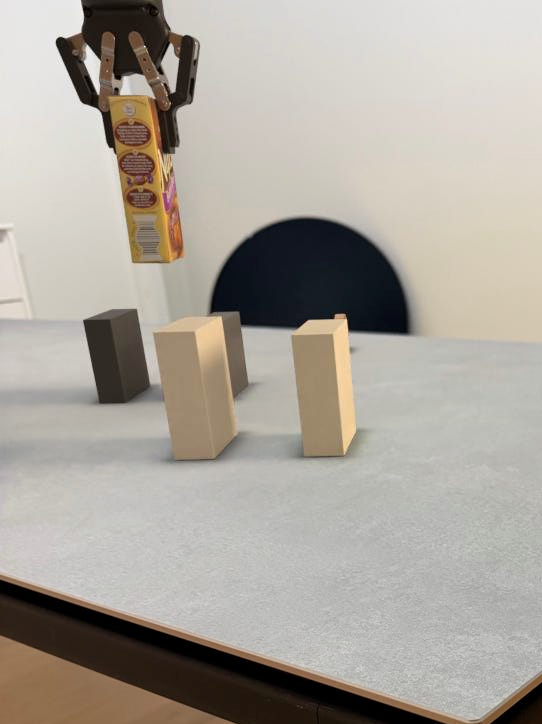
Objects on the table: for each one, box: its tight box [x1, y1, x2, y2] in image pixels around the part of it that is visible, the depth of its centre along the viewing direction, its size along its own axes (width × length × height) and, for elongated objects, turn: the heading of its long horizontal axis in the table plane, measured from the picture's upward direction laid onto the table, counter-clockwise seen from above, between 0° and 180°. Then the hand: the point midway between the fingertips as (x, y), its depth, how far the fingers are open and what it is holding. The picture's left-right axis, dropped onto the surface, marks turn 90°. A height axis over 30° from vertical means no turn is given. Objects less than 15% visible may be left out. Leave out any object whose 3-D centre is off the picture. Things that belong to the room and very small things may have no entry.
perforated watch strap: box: [333, 313, 350, 337], centre depth 134 cm, size 3×5×5 cm, turn 0°
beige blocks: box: [152, 316, 357, 461], centre depth 86 cm, size 15×9×11 cm, turn 90°
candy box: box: [108, 94, 186, 264], centre depth 99 cm, size 9×4×15 cm, turn 6°
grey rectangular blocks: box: [82, 308, 249, 404], centre depth 109 cm, size 15×9×9 cm, turn 90°
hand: (145, 153), depth 97 cm, fingers closed on candy box, 4 cm apart
